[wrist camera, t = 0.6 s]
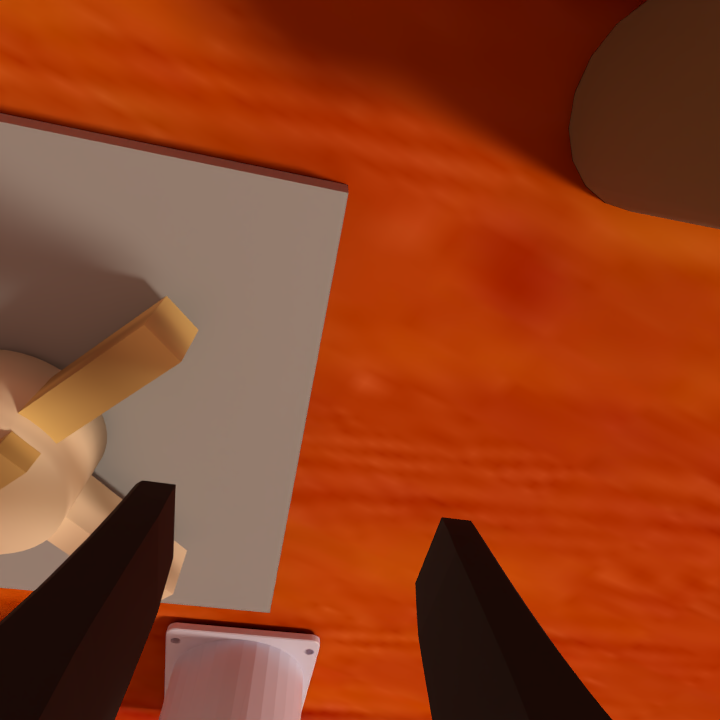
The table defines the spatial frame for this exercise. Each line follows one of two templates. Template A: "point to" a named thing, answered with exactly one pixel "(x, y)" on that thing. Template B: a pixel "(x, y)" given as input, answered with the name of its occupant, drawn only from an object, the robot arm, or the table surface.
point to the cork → (654, 113)
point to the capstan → (75, 431)
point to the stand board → (199, 304)
